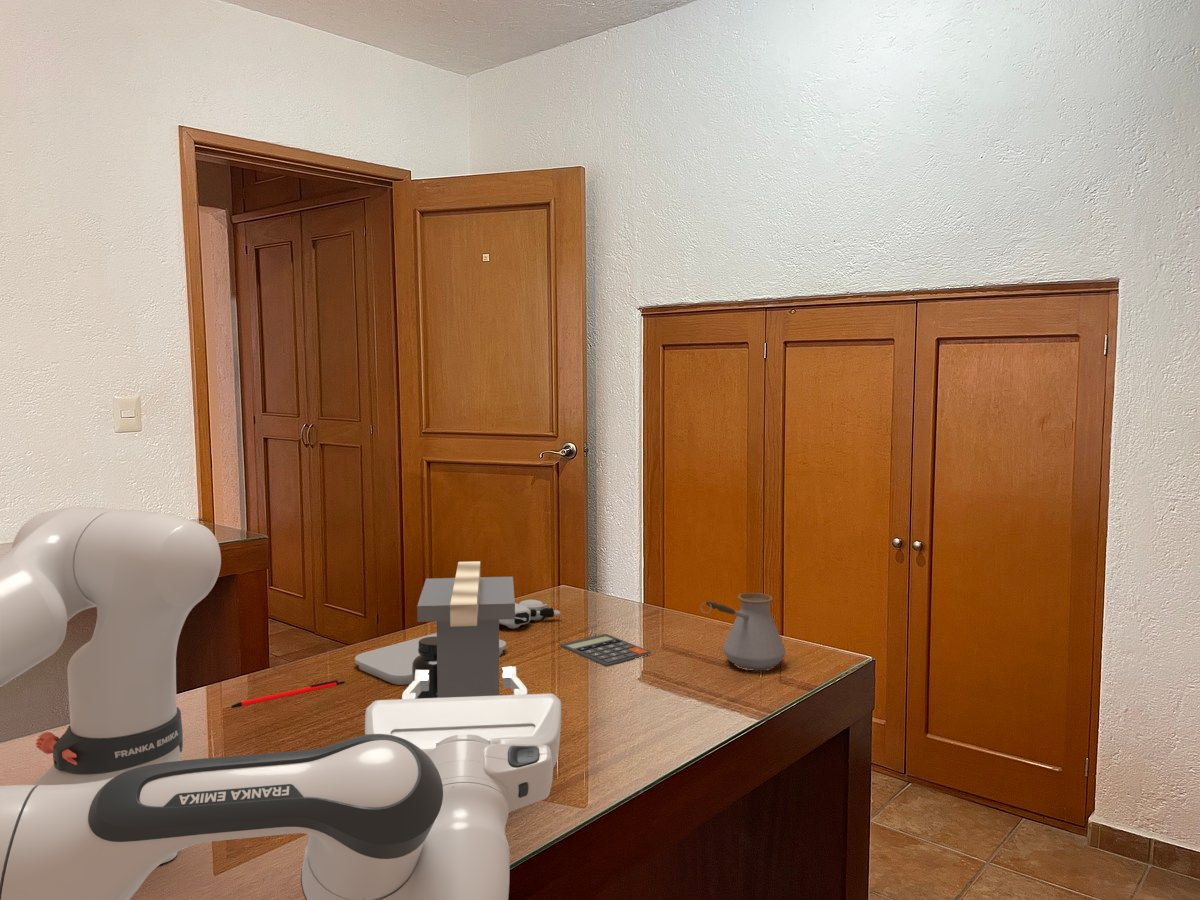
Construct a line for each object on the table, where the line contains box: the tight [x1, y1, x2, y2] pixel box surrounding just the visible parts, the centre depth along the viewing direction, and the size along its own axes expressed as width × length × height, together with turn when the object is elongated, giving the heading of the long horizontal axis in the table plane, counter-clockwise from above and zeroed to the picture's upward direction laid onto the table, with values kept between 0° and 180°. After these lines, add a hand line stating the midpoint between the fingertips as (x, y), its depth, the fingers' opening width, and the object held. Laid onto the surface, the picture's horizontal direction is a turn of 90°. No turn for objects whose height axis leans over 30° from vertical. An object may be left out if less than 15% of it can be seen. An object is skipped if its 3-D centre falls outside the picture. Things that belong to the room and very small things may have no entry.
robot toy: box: [499, 599, 561, 630], centre depth 192 cm, size 12×4×15 cm
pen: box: [229, 679, 346, 708], centre depth 150 cm, size 1×19×1 cm, turn 127°
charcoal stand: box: [416, 576, 516, 698], centre depth 119 cm, size 14×12×26 cm
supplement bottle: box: [412, 636, 438, 699], centre depth 142 cm, size 7×7×12 cm
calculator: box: [559, 633, 652, 668], centre depth 174 cm, size 12×1×15 cm
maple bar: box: [450, 560, 481, 627], centre depth 113 cm, size 22×3×2 cm, turn 7°
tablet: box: [354, 632, 507, 686], centre depth 168 cm, size 16×26×2 cm, turn 137°
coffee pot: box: [700, 592, 786, 671], centre depth 162 cm, size 21×12×15 cm, turn 137°
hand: (466, 671), depth 98 cm, fingers open, 8 cm apart
